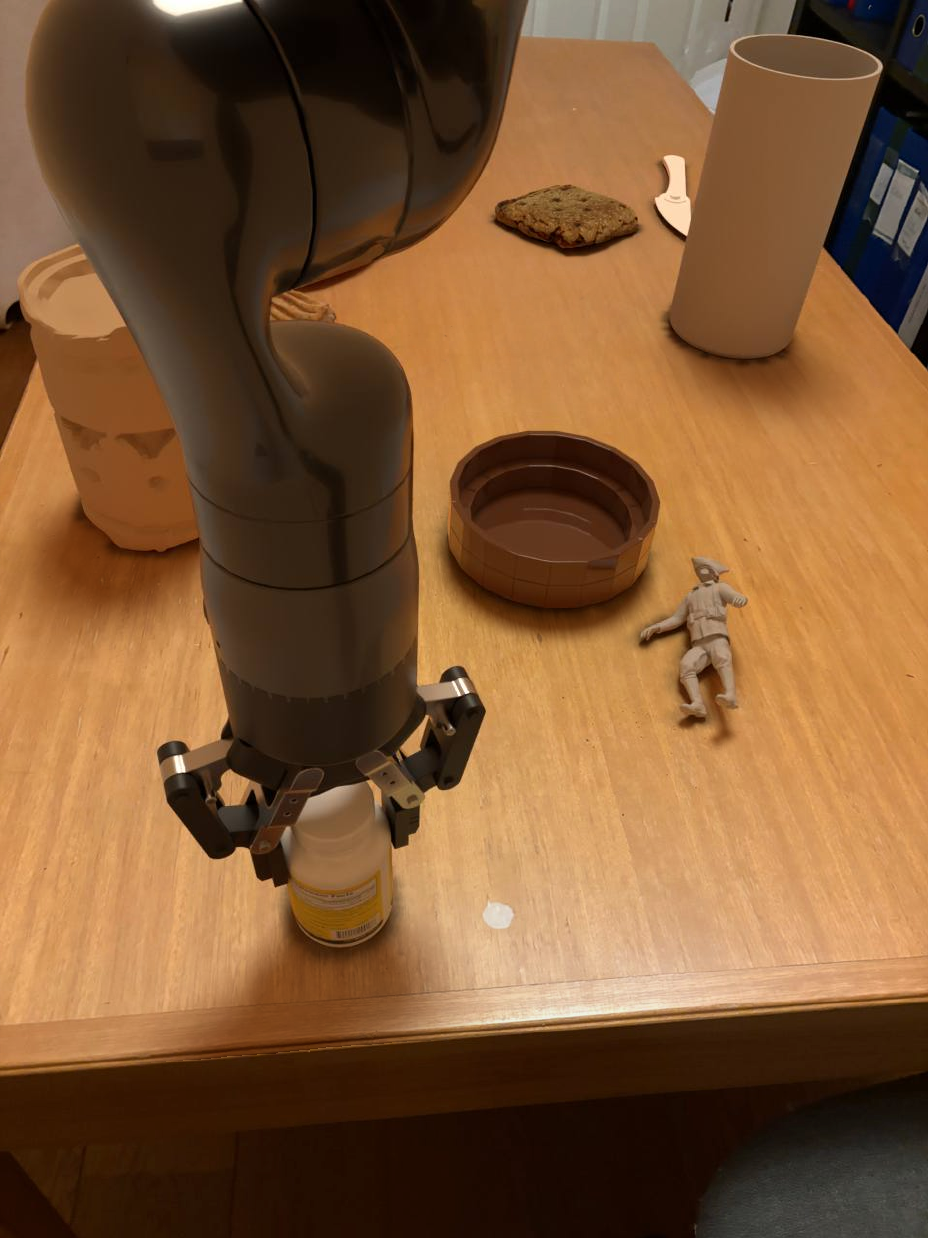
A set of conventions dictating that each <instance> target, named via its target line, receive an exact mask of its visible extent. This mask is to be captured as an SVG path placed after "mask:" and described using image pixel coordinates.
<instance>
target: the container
mask: <svg viewBox="0 0 928 1238" xmlns="http://www.w3.org/2000/svg"><path fill="white" fill-rule="evenodd" d="M16 284H17V291H18V299H19V306H20V307H19V308H20V311H21V313H22V316H23V318H24V320H25V322H27V323H29V324H30V326H31V328H30V333H29V334H30V335H29V336H30V339H31V343H32V346H33V349H34V353H35V356H36V358H37V363H38V366H39V371H40V374H41V378H42V382H43V386H44V389H45V392H46V395H47V399H48V401H49V403H50V406H51V407H52V409H53V411H54V413H53V416H54V420H55V424H56V427H57V429H58V434H59V436H60V440H61V442H62V446H63V448H64V452H65V455H66V459H67V463H68V465H69V468H70V471H71V474H72V475H71V476H72V479H73V481H74V484H75V487H76V490H77V492H78V494H79V496H80V503H81V507H82V509H83V512H84V515H85V516H86V517H87V519H88V520H89V521H90V522H91V523H92V524H93V525H94V526H95V527H97V528H98V529H99V530H100V531H102V532H103V533H104V534H106V535H107V536H108V538H109V539H110V540H111V541H112V543H113V544H115V545H116V546H117V547H119V549H126V550H132V551H139V552H149V551H153V550H155V551H157V552H158V553H162V552H163V553H164V552H166V550H167V549H171V548H175V547H177V546H179V545H181V544H186V543H188V542H190V541H193V540H196V539H199V535H198V531H197V526H196V522H195V517H194V512H193V507H192V502H191V497H190V492H189V488H188V483H187V478H186V473H185V467H184V462H183V458H182V452H181V448H180V444H179V441H178V438H177V435H176V432H175V430H174V427H173V424H172V422H171V419H170V417H169V414H168V412H167V410H166V407H165V405H164V403H163V400H162V398H161V396H160V394H159V392H158V389H157V387H156V385H155V383H154V381H153V378H152V376H151V374H150V372H149V370H148V368H147V366H146V364H145V362H144V360H143V358H142V356H141V354H140V352H139V350H138V348H137V346H136V344H135V341H134V339H133V337H132V335H131V333H130V332H129V330H128V328H127V326H126V324H125V323H124V321H123V319H122V317H121V315H120V314H119V312H118V310H117V308H116V306H115V305H114V303H113V301H112V299H111V298H110V296H109V294H108V293H107V291H106V289H105V288H104V286H103V284H102V283H101V281H100V279H99V278H98V276H97V274H96V273H95V271H94V270H93V268H92V266H91V265H90V263H89V261H88V260H87V258H86V256H85V255H84V253H83V251H82V250H81V248H80V246H79V245H78V243H76V244H73V245H70V246H68V247H66V248H63V249H59V250H57V251H55V252H54V253H51V254H47V255H46V256H44V257H42V258H39V259H36V260H34V261H33V262H31V263H30V264H29V265H28V266H26V268H25V269H23V270H22V271H21V273H20V275H19V277H18V279H17V282H16Z"/></svg>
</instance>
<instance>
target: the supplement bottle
mask: <svg viewBox="0 0 928 1238" xmlns="http://www.w3.org/2000/svg"><path fill="white" fill-rule="evenodd" d="M280 840H281V843H282V847H283V852H284V858H285V863H286V869H287V875H288V881H289V883H288V884H286V886H287V890H288V895H289V900H290V901H289V902H290V906H291V908H292V913H293V916H294V919H295V921H296V924H297V925H298V926H299V928H300V929H301V931H302V932H303V933H304V934H305V935H306V936H307V937H309V938H310V939H311V940H313V941H314V942H316V943H318V944H321V945H323V946H327V947H332V948H348V947H354V946H356V945H360V944H362V943H364V942H366V941H368V940H369V939H371V938H372V937H374V936H375V935H376V934H377V933H378V932H379V931H380V930H381V929H382V928H383V927H384V925H385V923H386V922H387V920H388V919H389V918H390V917H389V916H390V914H391V912H392V907H393V903H394V875H393V872H394V871H393V851H392V850H393V849H392V848H393V845H392V842H391V830H390V824H389V821H388V818H387V816H386V814H385V812H384V810H383V809H382V805H381V804H379V803H378V802H377V801H376V800H375V796H374V792H373V790H372V788H371V786H370V784H369V782H368V781H365V782H361V783H358V784H354V785H348V786H340V787H336V788H333V789H331V790H329V791H327V792H325V793H322V794H320V795H317V796H314V797H311V798H308V800H307V802H306V804H305V806H304V808H303V810H302V812H301V814H300V816H299V818H298V820H297V822H296V824H295V826H292V827H286V829H285V831H284V833H283V835H282V837H281V839H280Z"/></svg>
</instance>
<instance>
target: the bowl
mask: <svg viewBox="0 0 928 1238" xmlns="http://www.w3.org/2000/svg"><path fill="white" fill-rule="evenodd" d="M657 490H658V489H657V488H656V485H655V481H654V480H653V478H651V476H650V475H649V473H647V471H646V470H644V468H643V466H641V464H640V463H639V462H638V461H637V460H635V459H634V458H632V457H630V456H629V455H627V454H626V453H624V452H623V451H621V450H620V449H618V448H617V447H615V446H613V445H610V444H608V443H605V442H603V441H600V440H598V439H595V438H592V437H589V436H586V435H581V434H576V433H571V432H566V431H562V430H561V431H559V430H523V431H518V432H513V433H508V434H502V435H499V436H496V437H494V438H491V439H489V440H487V441H485V442H482V443H480V444H477V445H476V446H475V447H473V448H472V449H471V450H470V451H469V452H467V454H465V455H464V456H463V457H462V458H461V459H460V460H459V461H458V462H457V464H456V466H455V468H454V470H453V473H452V475H451V477H450V480H449V487H448V506H447V507H448V508H447V509H448V511H447V537H448V539H447V541H448V548H449V550H450V551H451V553H452V555H453V557H454V558H455V560H456V562H457V564H458V566H459V568H460V569H461V570H462V571H463V572H464V573H465V574H467V575H468V576H469V577H470V578H471V579H472V580H473V581H475V582H476V583H477V584H478V585H479V586H481V587H482V588H484V589H486V590H488V591H490V592H492V593H494V594H496V595H499V596H500V597H503V598H505V599H507V600H509V601H511V602H515V603H519V604H525V605H530V606H534V607H539V608H545V609H576V608H577V609H578V608H582V607H586V606H589V605H594V604H597V603H601V602H605V601H606V602H607V601H609V600H611V599H613V598H614V597H615V596H617V595H619V594H620V593H622V592H624V591H625V590H627V589H629V588H630V587H632V586H633V585H634V583H635V582H636V581H637V579H638V578H639V576H640V575H641V574H642V573H643V571H644V570H645V569H646V567H647V563H648V558H649V555H650V551H651V549H652V543H653V539H654V536H655V532H656V529H657V524H658V519H659V514H660V507H661V500H660V496H659V493H658V491H657Z"/></svg>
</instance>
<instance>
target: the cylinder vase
mask: <svg viewBox="0 0 928 1238" xmlns="http://www.w3.org/2000/svg"><path fill="white" fill-rule="evenodd" d="M725 63H726V64H725V66H724V72H723V76H722V79H721V80H722V81H721V84H720V89H719V93H718V98H717V103H716V106H715V110H714V111H715V112H714V116H713V120H712V124H711V128H710V134H709V138H708V142H707V147H706V150H705V154H704V155H705V156H704V161H703V164H702V167H701V168H702V169H701V172H700V177H699V182H698V187H697V191H696V194H695V199H694V202H693V203H694V204H693V208H692V212H691V221H690V226H689V230H688V234H687V236H686V239H685V244H684V248H683V253H682V256H681V262H680V266H679V270H678V274H677V279H676V284H675V288H674V292H673V297H672V301H671V306H670V309H669V322H670V325H671V327H672V329H673V330H674V332H675V334H677V336H679V337H680V338H681V339H682V340H683V341H685V342H686V343H687V344H689V345H690V346H692V347H694V348H696V349H698V350H700V351H703V352H706V353H708V354H712V355H715V356H718V357H724V358H731V359H738V360H739V359H740V360H751V359H760V358H765V357H769V356H772V355H774V354H777V353H779V352H781V351H782V350H784V349H785V348H787V346H788V345H789V344H790V342H791V340H792V339H793V337H794V333H795V331H796V327H797V324H798V322H799V319H800V316H801V312H802V310H803V307H804V304H805V300H806V298H807V295H808V292H809V289H810V286H811V283H812V280H813V277H814V274H815V272H816V268H817V265H818V262H819V259H820V256H821V253H822V250H823V247H824V244H825V241H826V239H827V238H826V237H827V235H828V232H829V229H830V226H831V223H832V220H833V217H834V215H835V211H836V208H837V206H838V202H839V200H840V196H841V193H842V190H843V187H844V184H845V181H846V178H847V176H848V172H849V169H850V167H851V163H852V160H853V158H854V155H855V152H856V149H857V146H858V142H859V139H860V136H861V134H862V131H863V128H864V125H865V122H866V119H867V116H868V112H869V110H870V107H871V104H872V101H873V97H874V95H875V92H876V89H877V86H878V83H879V80H880V77H881V74H882V71H883V68H884V66H883V63H882V62H881V60H880V59H878V58H877V57H876V56H874V54H873V55H872V54H871V53H870V52H868V51H865V50H863V49H860V48H858V47H855V46H852V45H849V44H845V43H842V42H839V41H834V40H829V39H825V38H819V37H813V36H807V35H797V34H786V33H785V34H784V33H782V34H781V33H772V34H771V33H765V34H764V33H763V34H754V35H748V36H742V37H740V38H737V39H735V40H733V41H732V42H731V43H730V45H729V49H728V54H727V57H726V62H725Z"/></svg>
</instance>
